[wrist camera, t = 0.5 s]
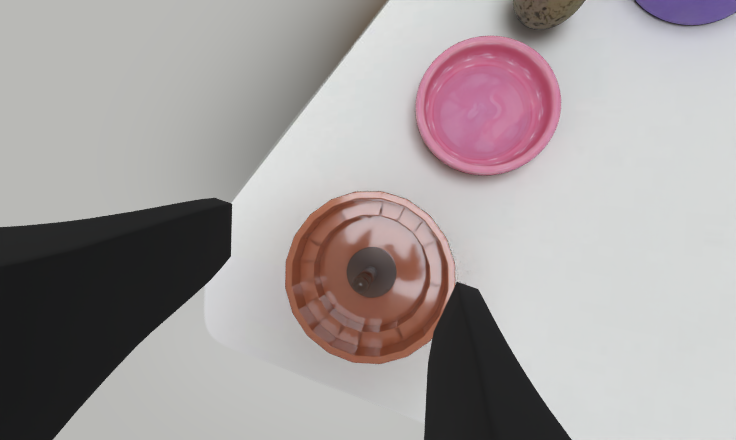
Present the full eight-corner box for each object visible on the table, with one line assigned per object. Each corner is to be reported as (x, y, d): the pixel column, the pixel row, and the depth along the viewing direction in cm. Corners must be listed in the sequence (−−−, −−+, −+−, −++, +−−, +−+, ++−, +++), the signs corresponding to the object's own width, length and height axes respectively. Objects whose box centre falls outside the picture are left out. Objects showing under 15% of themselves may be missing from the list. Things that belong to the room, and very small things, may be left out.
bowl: (419, 365, 30) (423, 390, 25) (284, 313, 32) (263, 327, 27) (466, 224, 31) (478, 222, 26) (329, 180, 32) (316, 170, 27)
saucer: (549, 177, 30) (566, 170, 27) (416, 182, 31) (417, 176, 28) (543, 49, 31) (559, 28, 27) (412, 59, 32) (414, 40, 29)
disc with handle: (387, 301, 30) (381, 330, 21) (343, 285, 31) (317, 306, 22) (402, 255, 30) (402, 264, 21) (358, 240, 31) (338, 242, 22)
